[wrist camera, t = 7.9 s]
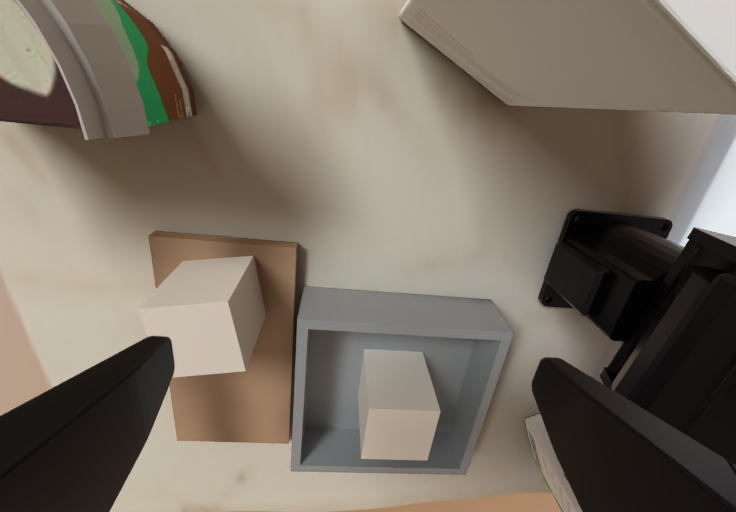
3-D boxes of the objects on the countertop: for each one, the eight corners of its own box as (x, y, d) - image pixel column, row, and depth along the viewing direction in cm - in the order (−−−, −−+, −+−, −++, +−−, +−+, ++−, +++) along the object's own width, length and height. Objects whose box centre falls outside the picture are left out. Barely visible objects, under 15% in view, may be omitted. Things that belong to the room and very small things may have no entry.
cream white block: (253, 255, 21) (227, 301, 16) (266, 314, 22) (245, 371, 18) (183, 261, 20) (136, 308, 16) (200, 319, 22) (163, 378, 17)
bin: (490, 299, 24) (514, 332, 20) (451, 431, 29) (465, 474, 25) (304, 286, 22) (297, 319, 19) (297, 426, 27) (290, 471, 24)
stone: (422, 352, 24) (440, 411, 20) (412, 396, 26) (427, 460, 21) (364, 349, 24) (369, 408, 19) (358, 394, 26) (360, 458, 21)
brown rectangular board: (297, 242, 21) (296, 248, 20) (290, 434, 28) (288, 443, 27) (155, 230, 20) (148, 235, 20) (181, 431, 27) (177, 440, 26)
